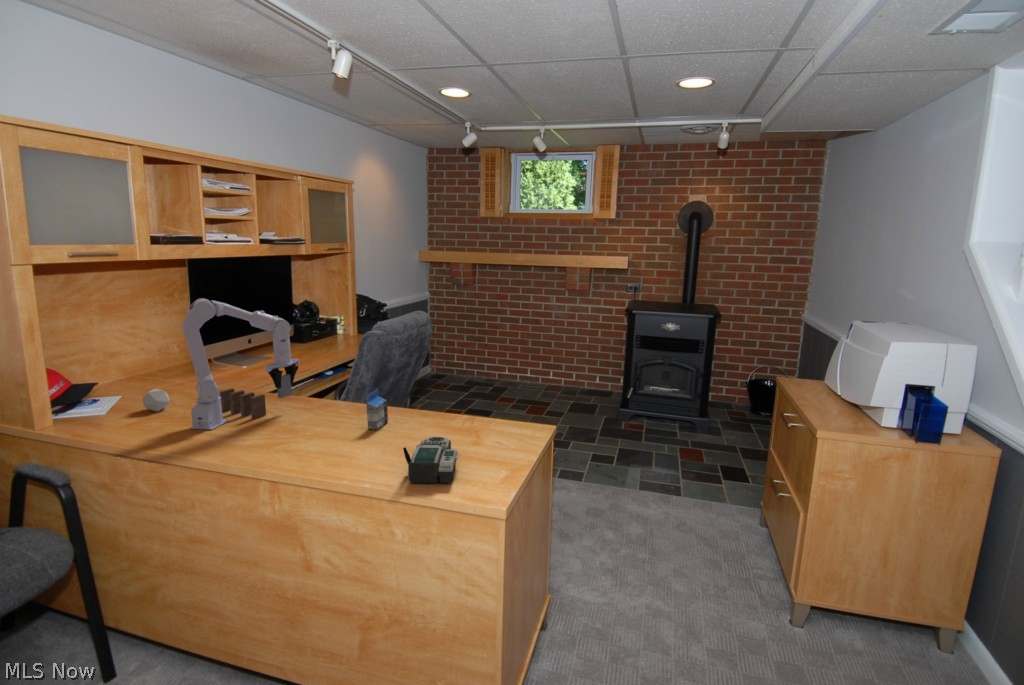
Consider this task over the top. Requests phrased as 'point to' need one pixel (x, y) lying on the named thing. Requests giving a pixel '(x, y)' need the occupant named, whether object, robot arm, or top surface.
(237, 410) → the domino
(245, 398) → the domino
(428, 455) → the communication device
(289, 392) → the domino
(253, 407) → the domino
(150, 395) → the die
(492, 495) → the top surface
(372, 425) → the label tape box
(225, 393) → the domino
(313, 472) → the top surface
